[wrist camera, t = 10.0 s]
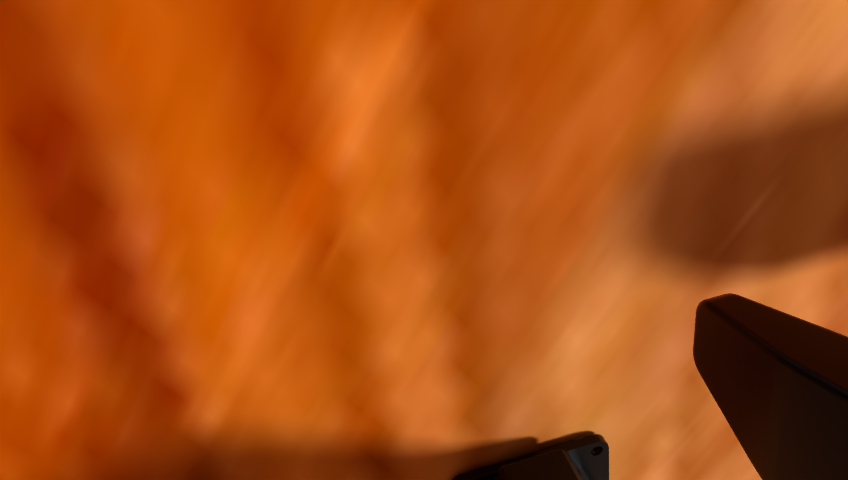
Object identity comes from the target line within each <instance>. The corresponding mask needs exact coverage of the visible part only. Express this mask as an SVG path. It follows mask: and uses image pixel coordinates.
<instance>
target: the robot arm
mask: <svg viewBox="0 0 848 480" xmlns="http://www.w3.org/2000/svg"><path fill="white" fill-rule="evenodd" d="M693 356H694V361H695V364H696V367H697V369H698V371H699V373H700V375H701V376H702V378H703V380H704V382H705V383H706V385H707V387H708V389H709V390H710V392H711V394H712V395H713V397H714V399H715V401H716V402H717V404H718V406H719V408H720V409H721V411H722V413H723V414H724V416H725V418H726V420H727V421H728V423H729V425H730V427H731V428H732V430H733V432H734V433H735V435H736V437H737V439H738V440H739V442H740V444H741V446H742V447H743V449H744V451H745V452H746V454H747V456H748V458H749V459H750V461H751V462H752V464H753V466H754V467H755V469H756V471H757V472H758V474H759V475H760V477H761V478H762V480H848V337H847V336H844V335H842V334H839V333H836V332H834V331H831V330H829V329H826V328H823V327H821V326H818V325H815V324H813V323H810V322H807V321H805V320H802V319H800V318H797V317H794V316H792V315H789V314H786V313H784V312H781V311H779V310H776V309H773V308H771V307H768V306H765V305H763V304H760V303H758V302H755V301H752V300H750V299H747V298H744V297H742V296H739V295H736V294H731V293H730V294H723V295H720V296H716V297H713V298H709V299H705V300H703V301H701V302H700V303H699V305H698V307H697V310H696V319H695V332H694V345H693ZM452 480H609V447H608V444H607V442H606V441H605V439H604V437H603V436H601V435H598V434H596V435H591V436H587V437H584V438H581V439H577V440H574V441H571V442H567V443H564V444H561V445H557V446H554V447H551V448H547V449H544V450H541V451H537V452H534V453H530V454H527V455H524V456H520V457H517V458H514V459H510V460H507V461H504V462H500V463H497V464H494V465H490V466H487V467H484V468H480V469H477V470H474V471H470V472H467V473H464V474H460V475H458V476H456V477H454V478H453V479H452Z"/></svg>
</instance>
